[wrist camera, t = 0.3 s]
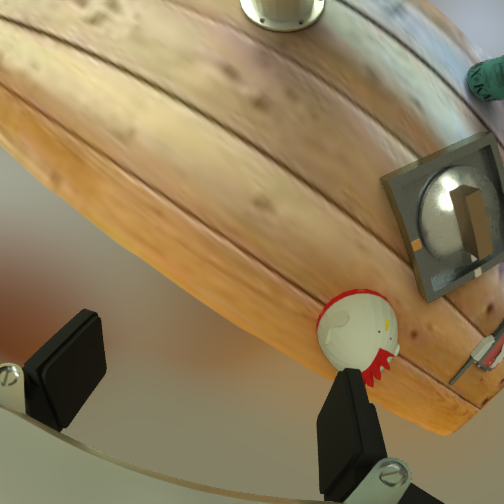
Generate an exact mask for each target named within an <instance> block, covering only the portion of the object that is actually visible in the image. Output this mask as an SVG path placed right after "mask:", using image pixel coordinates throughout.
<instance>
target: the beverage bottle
mask: <svg viewBox="0 0 504 504" xmlns="http://www.w3.org/2000/svg"><path fill="white" fill-rule="evenodd" d="M489 60H490V59H489ZM467 81H468V85H469V87H470V89H471V91H472V92H473V94H474V95H475V96H476V97H477V98H479V99H481V100H483V101H485V102H486V101H487V102H489V101H493V100H498V101H500V99H501V100H502V99H504V56H502V57H499V58H496V59H492V60H490V61H488V60H486V62H485V61H483V63H482V62H480V63H477V64H474V66H472V67H470V69H469V71H468V74H467Z"/></svg>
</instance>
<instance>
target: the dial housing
mask: <svg viewBox="0 0 504 504" xmlns="http://www.w3.org/2000/svg"><path fill="white" fill-rule="evenodd" d="M457 165H464V166H470V167H473V168H476V169H478V170H480V171H481V172H483V173H484V174H485V175H486V176H487V177H488V178H489V179H490V181H491V182H492V184H493V186H494V187H495V190H496V192H497V196H498V199H499V206H500V218H499V225H498V229H497V232H496V235H495V237H494V240H493V242H492V244H493V250H494V252H493V253H491V254H490V255H488V256H486V257H485V258H483V259H481V260H478V259H477V260H476V261H474V262H472V263H470V264H468V265H465V266H449V265H446V264H444V263H442V262H440V261H439V260H437V259H436V258H435V257H434V256H433V255H432V254H431V253H430V252H429V251H428V249H427V248H426V246H425V244H424V242H423V239H422V236H421V232H420V226H419V214H420V207H421V202H422V199H423V196H424V194H425V191H426V190H427V188H428V186H429V184H430V183H431V182H432V180H433V179H434V178H435V177H436V176H437V175H438V174H439V173H441V172H442V171H444V170H445V169H447V168H450V167H452V166H457ZM380 180H381V182H382V185H383V187H384V189H385V192H386V194H387V197H388V199H389V202H390V205H391V207H392V210H393V213H394V215H395V218H396V221H397V223H398V226H399V229H400V232H401V235H402V238H403V241H404V244H405V247H406V250H407V253H408V256H409V259H410V262H411V265H412V269H413V272H414V275H415V279H416V282H417V286H418V289H419V293H420V294H421V295H422V297H423V298H424V299H425V300H426V302H427V303H430V302H432V301H434V300H436V299H438V298H440V297H442V296H443V295H445V294H447V293H449V292H451V291H453V290H454V289H456V288H458V287H460V286H461V285H463V284H465V283H467V282H468V281H470V280H472V279H473V278H476V277H478V276H480V275H481V274H482V273H483V272H485V271H487V270H488V269H490V268H492V267H493V266H495V265H496V264H498V263H500V262H501V261H503V260H504V167H503V163H502V159H501V156H500V152H499V149H498V146H497V143H496V139H495V136H494V133H493V132H479V133H477V134H474V135H472V136H470V137H468V138H466V139H463V140H461V141H459V142H457V143H455V144H452V145H450V146H448V147H446V148H443V149H441V150H439V151H437V152H435V153H432V154H430V155H428V156H426V157H424V158H422V159H419V160H417V161H415V162H413V163H411V164H408V165H406V166H404V167H402V168H400V169H398V170H395V171H393V172H391V173H389V174H387V175H385V176H383V177H380Z"/></svg>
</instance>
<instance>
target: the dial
mask: <svg viewBox="0 0 504 504" xmlns="http://www.w3.org/2000/svg"><path fill="white" fill-rule="evenodd" d="M499 218H500V206H499V199H498V196H497V192H496V190H495V187H494V186H493V184H492V182H491V181H490V179H489V178H488V177H487V176H486V175H485V174H484V173H483V172H481V171H480V170H478V169H476V168H473V167H470V166H464V165H457V166H452V167H450V168H447V169H445V170H444V171H442V172H441V173H439V174H438V175H437V176H436V177H435V178H434V179H433V180H432V182H431V183H430V184H429V186H428V188H427V190H426V191H425V194H424V196H423V199H422V202H421V207H420V214H419V226H420V232H421V236H422V239H423V242H424V244H425V246H426V248H427V249H428V251H429V252H430V253H431V254H432V255H433V256H434V257H435V258H436V259H437V260H439V261H440V262H442V263H444V264H446V265H449V266H465V265H468V264H470V263H472V262H474V261H476V260H477V259H478V260H481V259H483V258H485V257H486V256H488V255H490V254H491V253H493V252H494V250H493V244H492V242H493V240H494V237H495V235H496V232H497V229H498V225H499Z"/></svg>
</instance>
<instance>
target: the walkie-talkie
mask: <svg viewBox="0 0 504 504" xmlns="http://www.w3.org/2000/svg"><path fill="white" fill-rule="evenodd" d="M470 355H471V356H472V357H471V358H470V359H469V361H468V362H467V363H466V364H465V366H464V367H463V368H462V369H461V370H460V371H459V372H458V374H457V376H456V377H455V378H454V379H453V380H452V381H451V382H450V383H449V384H450V385H453V384H454V383H455V382H456V381H457V379H458V378H459V377H460V376H461V375H462V374H463V373H464V372H465V371H466V369H467V368H468V367H469V366H470V365H471V364H473V362H474V363H478V365H477V366H478V367H480V368H481V369H482V370H483V371H484V372H486V371H487V370H488V371H491V370H492V369H494V368H495V367H496V366H497V365H498V364H499V362H500V361H501V360H502V359H503V358H504V319H503V321H502V323H501V324H500V325H499V327H498V328H497V329H496V331H495V332H494V333H493V335H490V336H488V337H486V338H484V339H483V340H482V341H481V342H480V343H479V344H478V346H477V347H476V348H475V349H474V350H473V351H472V352H471V353H470Z"/></svg>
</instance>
